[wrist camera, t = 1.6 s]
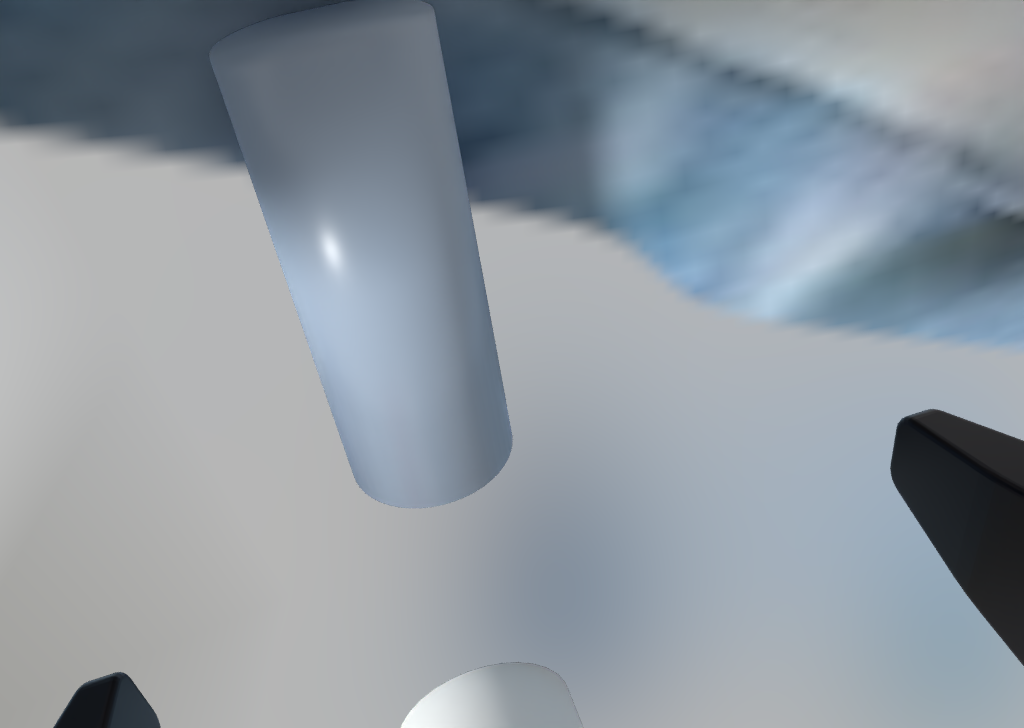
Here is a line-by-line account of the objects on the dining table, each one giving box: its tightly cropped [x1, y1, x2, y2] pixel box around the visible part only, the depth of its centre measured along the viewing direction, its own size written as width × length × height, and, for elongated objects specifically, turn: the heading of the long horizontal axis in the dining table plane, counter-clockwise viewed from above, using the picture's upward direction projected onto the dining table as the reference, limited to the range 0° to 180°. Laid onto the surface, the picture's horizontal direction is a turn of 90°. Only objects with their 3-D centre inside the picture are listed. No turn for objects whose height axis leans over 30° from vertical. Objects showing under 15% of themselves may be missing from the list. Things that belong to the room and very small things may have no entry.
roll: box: [209, 0, 512, 508], centre depth 20 cm, size 11×4×4 cm, turn 8°
